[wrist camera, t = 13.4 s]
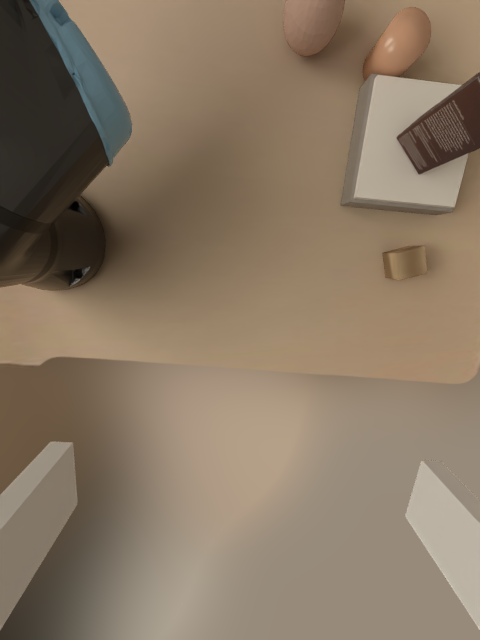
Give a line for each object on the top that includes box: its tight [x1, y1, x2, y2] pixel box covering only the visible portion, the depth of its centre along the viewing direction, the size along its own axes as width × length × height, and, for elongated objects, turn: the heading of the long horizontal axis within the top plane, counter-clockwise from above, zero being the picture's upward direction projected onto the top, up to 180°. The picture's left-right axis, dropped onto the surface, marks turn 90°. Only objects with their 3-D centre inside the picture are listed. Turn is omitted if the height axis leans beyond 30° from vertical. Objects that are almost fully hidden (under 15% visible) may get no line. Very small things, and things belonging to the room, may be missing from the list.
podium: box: [341, 74, 469, 215], centre depth 37 cm, size 15×15×4 cm
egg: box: [283, 0, 345, 56], centre depth 31 cm, size 7×7×9 cm
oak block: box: [383, 246, 427, 280], centre depth 41 cm, size 4×4×4 cm
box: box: [397, 72, 480, 175], centre depth 29 cm, size 6×4×12 cm
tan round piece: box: [363, 7, 431, 81], centre depth 34 cm, size 5×5×6 cm
